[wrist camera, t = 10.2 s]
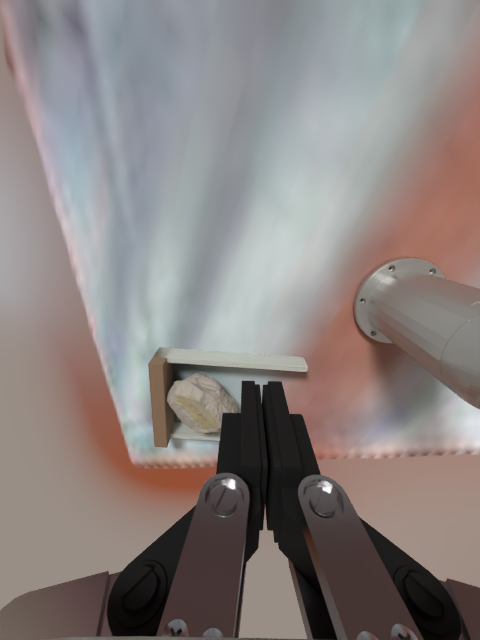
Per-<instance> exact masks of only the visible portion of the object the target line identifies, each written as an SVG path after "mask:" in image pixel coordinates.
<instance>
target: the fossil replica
mask: <svg viewBox="0 0 480 640" xmlns="http://www.w3.org/2000/svg"><path fill="white" fill-rule="evenodd" d="M166 401H167V402H168V404H169V406H170V407H171V408H172V409H173V411H174V412H175V413H176V415H177V417H178V418H179V419H180V420H181V421H182V422H183V423H184V424H185V425H187V426H188V427H189V428H191V429H193V430H194V431H195V432H196V433H199V434H201V433H209V432H220V433H221V424H222V415H223V413H238V407H237V404H236V403H235V400H233V398H232V397H230V396H229V395H227V393H226V392H225V391H224V388H223V387H222V386H221V384H219V382H218V381H217V380H215V379H214V378H210V377H206V376H205V375H204V374H201V373H194V374H192V375H191V376H189V377H187V378H185V379H184V380H183V381H175V382H174V385H173V386H172V387H171V389H170V390H169V392H168V394H167V399H166Z"/></svg>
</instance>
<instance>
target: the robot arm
mask: <svg viewBox="0 0 480 640" xmlns="http://www.w3.org/2000/svg"><path fill="white" fill-rule="evenodd" d="M389 267H390V268H389ZM360 299H362V300H361V301H360ZM353 309H354V317H355V320H356V322H357V324H358V326H359V327H360V329H361V330H362V331H363V332H364V333H365V334H366V335H367V336H369V337H370V338H372V339H374V340H376V341H378V342H382V343H389V344H395V345H397V346H398V347H399V348H400V349H401V350H403V351H404V352H405V353H406V354H408V355H409V356H410V357H411V358H412V359H414V360H415V361H416V362H417V363H418V364H420V365H421V366H422V367H423V368H425V369H426V370H427V371H428V372H429V373H431V374H432V375H433V376H434V377H435V378H437V379H438V380H439V381H440V382H442V383H443V384H444V385H445V386H447V387H448V388H449V389H450V390H452V391H453V392H454V393H455V394H456V395H458V396H459V397H460V398H462V399H463V400H464V401H466V402H467V403H469V404H470V405H472V406H474V407H476V408H478V409H480V289H478V288H475V287H471V286H468V285H464V284H461V283H457V282H454V281H450V280H447V279H446V278H445V276H444V274H443V273H442V271H441V270H440V269H439V268H438V267H437V266H435V265H434V264H433V263H431V262H428V261H426V260H423V259H418V258H408V257H407V258H398V259H395V260H392V261H389V262H387V263H385V264H383V265H381V266H379V267H378V268H376V269H375V270H373V271H372V272H371V273H370V274H369V275H368V276H367V277H366V278H365V280H364V281H363V282H362V284H361V285H360V287H359V289H358V291H357V293H356V296H355V300H354V308H353ZM265 507H266V519H267V529H268V530H273V533H274V542H275V543H278V545H279V549H280V550H281V551H282V552H283V553H284V555H285V556H286V557H287V558H288V561H289V568H290V572H291V576H292V579H293V584H294V588H295V592H296V596H297V600H298V603H299V608H300V611H301V615H302V619H303V623H304V627H305V631H306V635H307V639H266V638H239V630H240V620H241V611H242V602H243V593H244V584H245V574H246V563H247V561H248V560H249V559H250V558H251V556H252V555H253V554H254V553H255V551H256V550H257V549H258V542H259V530H263V520H264V509H265ZM0 640H480V588H479V587H476V586H472V585H469V584H465V583H462V582H459V581H455V580H451V579H447V580H446V582H444V581H440V580H438V579H437V578H435V577H434V576H433V575H432V574H431V573H430V572H429V571H428V570H426V569H425V568H424V567H423V566H422V565H420V564H419V563H418V562H416V561H415V560H414V559H413V558H411V557H410V556H409V555H407V554H406V553H405V552H404V551H402V550H401V549H400V548H398V547H397V546H396V545H394V544H393V543H392V542H390V541H389V540H388V539H387V538H385V537H384V536H383V535H382V534H380V533H379V532H378V531H376V530H375V529H374V528H372V527H371V526H370V525H368V523H366V522H365V521H364V520H362V519H361V518H360V517H358V515H357V513H356V511H355V509H354V507H353V505H352V504H351V501H350V500H349V498H348V496H347V494H346V493H345V491H344V490H343V488H342V487H341V486H340V485H339V484H338V483H337V482H336V481H334V480H332V479H330V478H329V477H326V476H323V475H321V474H320V471H319V468H318V464H317V461H316V458H315V455H314V451H313V448H312V445H311V442H310V438H309V435H308V432H307V429H306V425H305V422H304V419H303V416H302V415H301V414H289V410H288V406H287V402H286V398H285V394H284V390H283V386H282V382H278V381H268V385H263V395H262V403H261V394H260V385H255V381H242V393H241V413H223V415H222V424H221V433H220V443H219V453H218V463H217V473H216V475H214V476H213V477H211V478H209V479H208V480H207V481H206V483H205V484H204V485H203V487H202V489H201V491H200V494H199V498H198V501H197V504H196V506H195V507H194V508H192V509H191V510H190V511H189V512H188V513H187V514H185V515H184V516H183V517H182V518H181V519H180V520H179V521H177V522H176V523H175V524H174V525H173V526H172V527H171V528H169V529H168V530H167V531H166V532H165V533H164V534H163V535H162V536H160V537H159V538H158V539H157V540H156V541H155V542H153V543H152V544H151V545H150V546H149V547H148V548H147V549H146V550H144V551H143V552H142V553H141V554H140V555H139V556H137V557H136V558H135V559H134V560H133V561H132V562H131V563H130V564H128V566H127V567H126V568H125V569H124V570H123V571H121V572H118V573H114V574H110V575H109V572H108V571H106V572H102V573H99V574H95V575H91V576H87V577H84V578H80V579H76V580H72V581H69V582H65V583H61V584H58V585H54V586H50V587H46V588H43V589H39V590H35V591H31V592H28V593H25V594H23V595H21V596H19V597H17V598H15V599H14V600H12V601H11V602H10V603H8V604H7V605H6V606H5V607H3V608H2V609H1V610H0Z"/></svg>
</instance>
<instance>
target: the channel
mask: <svg viewBox="0 0 480 640" xmlns="http://www.w3.org/2000/svg"><path fill="white" fill-rule="evenodd" d="M173 363H181V364H196V365H211V366H226V367H241V368H255V369H270V370H285V371H300V372H307V369H308V367H307V364H306V362H305V360H304V357H292V356H277V355H263V354H248V353H233V352H219V351H204V350H189V349H174V348H159V349H158V351H157V352H156V354H155V355H154V356H153V358H152V359H151V361H150V362H149V364H148V365H149V379H150V392H151V405H152V418H153V431H154V444H155V447H166V448H167V446H168V443H169V440H170V438H181V439H197V440H212V441H220V432H209V433H201V434H199V433H196V432H195V431H194V430H193V429H191V428H189V427H188V426H187V425H185V424H184V423H183V422H180V421H175V414H174V411H173V409H172V408H171V407H170V406H169V404H168V402H167V401H166V399H167V394H168V392H169V390H170V389H171V387H172V386H173Z"/></svg>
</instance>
